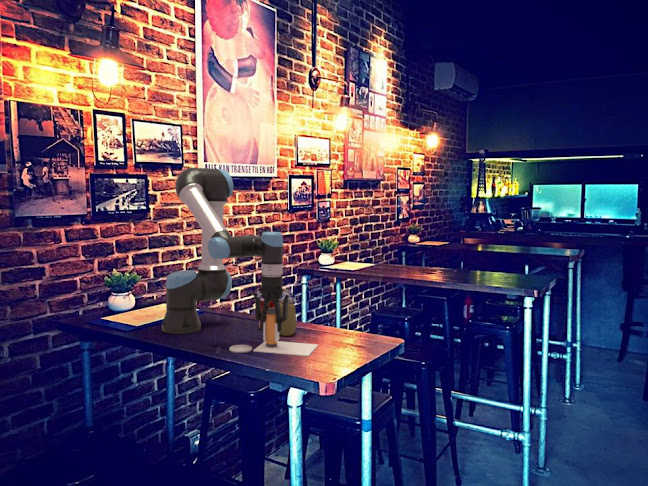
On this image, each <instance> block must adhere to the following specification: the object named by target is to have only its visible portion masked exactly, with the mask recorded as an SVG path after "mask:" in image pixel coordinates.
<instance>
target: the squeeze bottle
mask: <svg viewBox="0 0 648 486" xmlns="http://www.w3.org/2000/svg"><path fill="white" fill-rule="evenodd" d="M284 292H285V293H287V294H290V291H289V288H285V290H284ZM283 300H284V299H283V297H280V309H281V315H282V312H283ZM293 301H294V299H293V298H292V297H290V298H289V300H288V314H287V320H286V321H285V322H282V331H281V332H279V336H283V337H288V336H293V335H294V334H295V331H296V329H297V325H298V324H297V316H296V315H297V312H296V304H294V302H293Z"/></svg>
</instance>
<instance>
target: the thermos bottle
mask: <svg viewBox="0 0 648 486" xmlns="http://www.w3.org/2000/svg"><path fill="white" fill-rule="evenodd" d="M276 322H277V318H276V310H275V308H267V309H266V347H270V348H273V347H277V342H275V323H276Z"/></svg>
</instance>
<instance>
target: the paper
mask: <svg viewBox="0 0 648 486" xmlns="http://www.w3.org/2000/svg"><path fill="white" fill-rule="evenodd" d="M317 346H318V347H319V344H314V343H305V342H304V343H302V342H292V341H291V342H290V341H280V340H278V341H277V347H273V348H270V347H266V341H263V342H262V343H261V344H260V345H258V346H257V347H256V348H254V349H252V351H253V352H254V353H257V352H258V353H268V354H279V355H287V356H288V355H289V356H301V357H310V356H311V355H312V354H313V353H314V351H315V350H317V348H318V347H317Z"/></svg>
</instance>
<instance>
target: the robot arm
mask: <svg viewBox="0 0 648 486" xmlns="http://www.w3.org/2000/svg"><path fill="white" fill-rule="evenodd" d="M174 185H175V193H176V195H177V197H178V199H179V201H180V202H181V203H183V204H184V205H186V207H187V208H188V210H189V211H190V213H191V214H192V216H193V218H194V219H195V221H196V222H197V223H198V225H199V227H200V229H201V264H200V265H199V266H198V267H197V271H196V270H193V269H187V270H185V269H183V270H177V271H174V272H171V273H170V274H168V275H167V277H166V279H165V280H166V283H165V292H166V295H165V298H166V302H165V303H166V304H165V308H166V309H165V315H164V317H163V320H162V323H161V331H162V332H163V333H165V334H170V335H184V334H185V335H186V334H192V333H197V332H199V331H201V330H202V323H201V320H200V318H199V314H198V312H197V303H200V302H208V301H218V300H221V299H225V298H227V297H228V295H229V294H230V293H231V290H232V286H233V278H232V277H231V273H230V272H229V271H228V270H227V267H226V266H225V265H224V261H223V260H225V259H235V258H252V257H253V258H254V257H257V258H261V261H260V262H261V264H260V265H261V272H260V273H261V275H262V276H260V278H261V280H260V281H261V283H260V286H261V287H260V290H258V291H256V292H254V293H253V294H252V295H253V298H254V306H255V307H254V308H255V311H254V312H255V320H256V321H258V322H259V321H261V329H260V330H261V331H263V332H262V334H263V337H262V338H263V339H262V340H263V342H265V341H266V309H267V308H268V306H269V302H270V301H272V302H273V303H274V306H275V310H276V318H277V322H276V323H275V342H277V341H280V335H279V332H281V331H282V322H285V321H286V320H287V314H288V300H289V298H291V294H290V293H289V294H287V293H285V290H284V288H283V276H282V275H283V274H284V273H283V271H284V270H283V269H284V268H283V265H284V264H283V261H284V260H283V259H284V238H283V233H281V232H280V231H264V232H262V233H261V236H260V235H259V236H258V235H253V234H252V235H250V234H249V235H245V236H232V235H231V233H230V232H229V230H228V229H227V228H226V226H225V224H224V206H225V205H226V204H227V203H228V199H229V198H230V197H231V196H232V195H233V194H232V193H233V192H234V182H233V178H232V176H231V175H230V173H229V172H228V171H226V169H225V170H224V169H221V168H220V169H219V168H208V167H207V168H206V167H205V168H203V167H188V168H186V169H184V170H183V171H182V172H180V173H179V175H177V178H176V180H175V184H174ZM261 296H262V299H263V298H264V305H263V310H262V315H261V300H260V299H261ZM281 298H283V299H284V300H283V312H282V315H281V309H280V303H281Z"/></svg>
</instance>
